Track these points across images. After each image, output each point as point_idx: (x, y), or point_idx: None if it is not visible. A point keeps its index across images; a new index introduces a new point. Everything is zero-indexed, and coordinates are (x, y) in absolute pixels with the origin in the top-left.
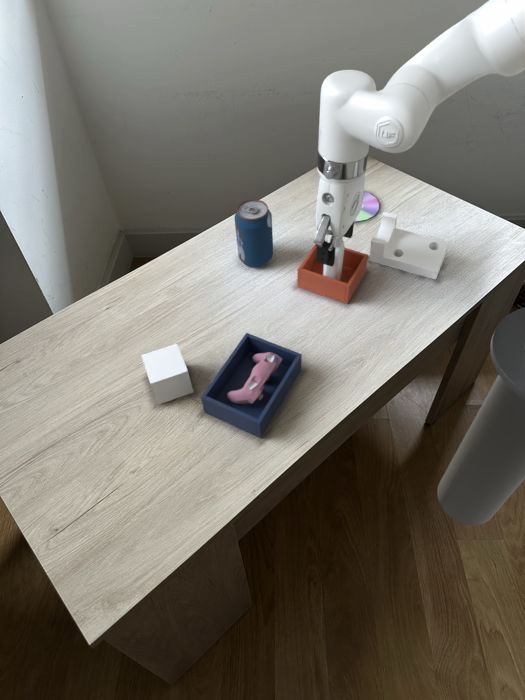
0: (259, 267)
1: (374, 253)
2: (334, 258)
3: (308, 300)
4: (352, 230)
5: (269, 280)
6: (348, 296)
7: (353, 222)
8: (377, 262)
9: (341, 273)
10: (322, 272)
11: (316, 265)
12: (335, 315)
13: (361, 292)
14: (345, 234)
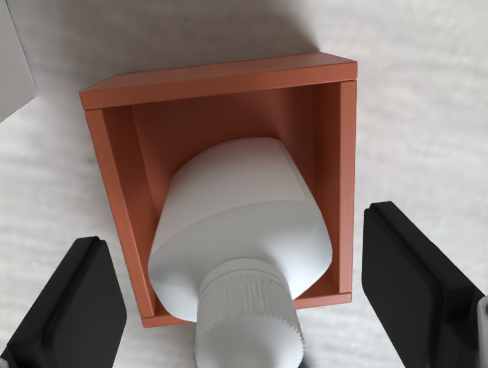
0: (303, 366)
1: (16, 82)
2: (397, 226)
3: (364, 185)
4: (71, 268)
5: (336, 320)
6: (332, 55)
7: (35, 322)
8: (24, 58)
9: (223, 151)
10: None
11: None
12: (395, 63)
13: (229, 32)
14: (107, 277)
